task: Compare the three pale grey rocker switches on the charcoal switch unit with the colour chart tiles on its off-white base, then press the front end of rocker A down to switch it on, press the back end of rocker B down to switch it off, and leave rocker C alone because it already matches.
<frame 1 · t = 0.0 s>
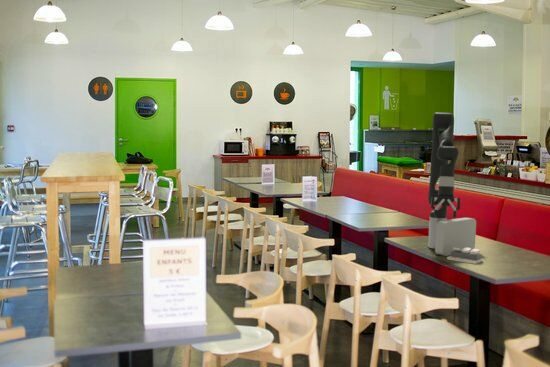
hand: (444, 217, 338), 22 cm above the table, tool pointing down, fingers open, 8 cm apart
rocker A: (458, 248, 348), point 5 cm above the table, hinge at -10.0°
rounded white slab: (455, 252, 364), on the table
switch unit: (464, 260, 345), on the table
rocker C: (474, 251, 343), point 5 cm above the table, hinge at 10.0°
rocker B: (466, 250, 346), point 5 cm above the table, hinge at 10.0°
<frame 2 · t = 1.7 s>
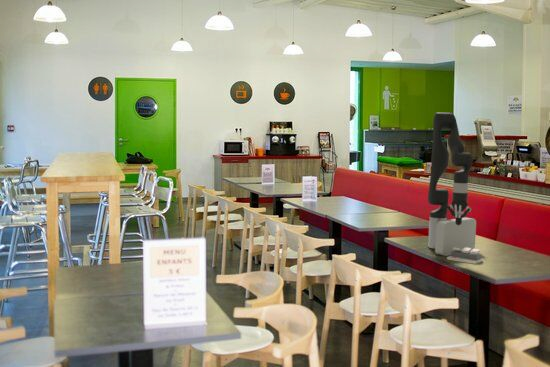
hand: (458, 224, 346), 18 cm above the table, tool pointing down, fingers closed
nothing on the table moved.
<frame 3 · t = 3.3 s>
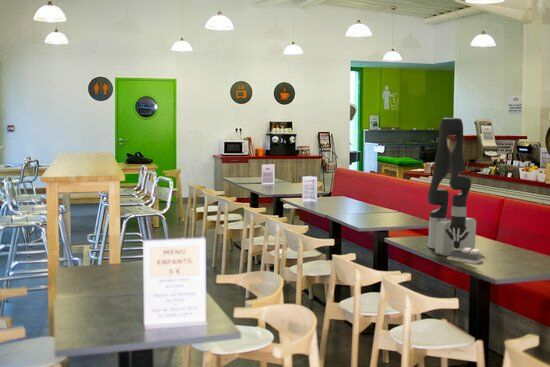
hand: (456, 248, 347), 6 cm above the table, tool pointing down, fingers closed
rocker A: (458, 248, 348), point 5 cm above the table, hinge at -8.2°, touching gripper
everything else where it was.
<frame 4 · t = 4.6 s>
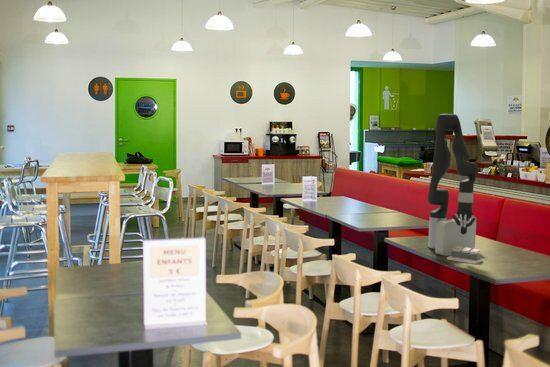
hand: (463, 234, 346), 13 cm above the table, tool pointing down, fingers closed
rocker A: (458, 248, 348), point 5 cm above the table, hinge at 10.2°
everything else where it was.
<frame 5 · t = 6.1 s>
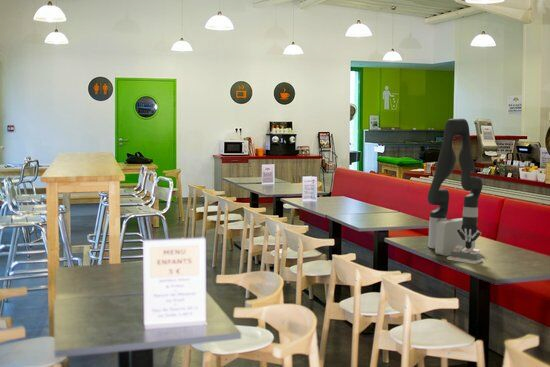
hand: (468, 248, 347), 6 cm above the table, tool pointing down, fingers closed
rocker A: (458, 248, 348), point 5 cm above the table, hinge at 23.4°, touching switch unit
rocker B: (466, 250, 346), point 5 cm above the table, hinge at 8.7°, touching gripper
everything else where it was.
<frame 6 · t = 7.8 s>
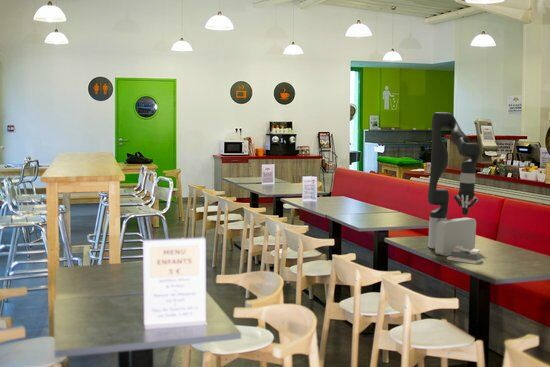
hand: (465, 214, 347), 23 cm above the table, tool pointing down, fingers closed
rocker A: (458, 248, 348), point 5 cm above the table, hinge at 16.6°
rocker B: (466, 250, 346), point 5 cm above the table, hinge at -15.3°
everything else where it was.
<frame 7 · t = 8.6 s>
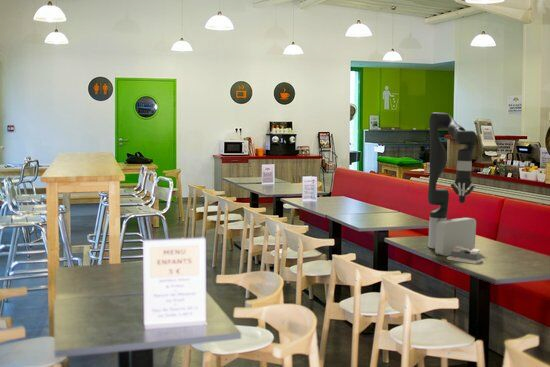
hand: (461, 202, 347), 29 cm above the table, tool pointing down, fingers closed
rocker A: (458, 248, 348), point 5 cm above the table, hinge at 14.2°
rocker B: (466, 250, 346), point 5 cm above the table, hinge at -22.4°, touching switch unit
everything else where it was.
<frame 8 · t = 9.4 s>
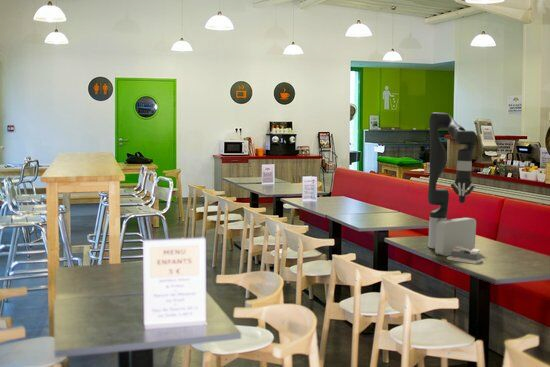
hand: (461, 202, 347), 29 cm above the table, tool pointing down, fingers closed
rocker A: (458, 248, 348), point 5 cm above the table, hinge at 12.2°
rocker B: (466, 250, 346), point 5 cm above the table, hinge at -20.4°
everything else where it was.
at the end: rocker A at +12° (first picture: -10°); rocker B at -20° (first picture: +10°); rocker C at +10° (first picture: +10°) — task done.
